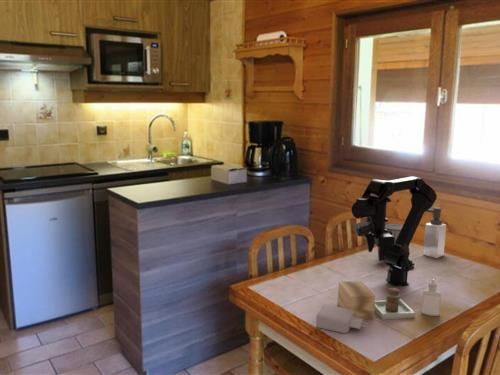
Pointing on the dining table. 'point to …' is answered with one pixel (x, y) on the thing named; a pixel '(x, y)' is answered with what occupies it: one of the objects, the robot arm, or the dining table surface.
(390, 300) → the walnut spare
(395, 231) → the milk frother
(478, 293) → the dining table surface
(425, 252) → the soap dispenser
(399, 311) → the green tray
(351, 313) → the grey plastic bottle
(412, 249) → the dining table surface
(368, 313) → the pine unit
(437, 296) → the eye dropper bottle
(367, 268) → the dining table surface
